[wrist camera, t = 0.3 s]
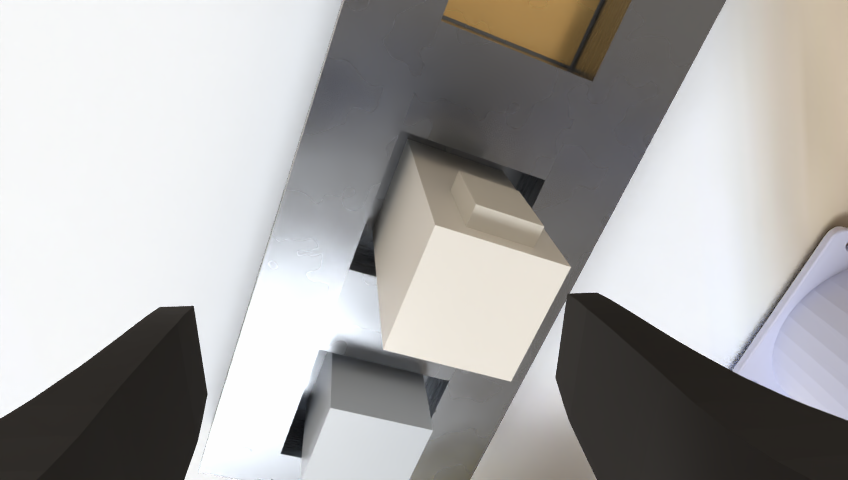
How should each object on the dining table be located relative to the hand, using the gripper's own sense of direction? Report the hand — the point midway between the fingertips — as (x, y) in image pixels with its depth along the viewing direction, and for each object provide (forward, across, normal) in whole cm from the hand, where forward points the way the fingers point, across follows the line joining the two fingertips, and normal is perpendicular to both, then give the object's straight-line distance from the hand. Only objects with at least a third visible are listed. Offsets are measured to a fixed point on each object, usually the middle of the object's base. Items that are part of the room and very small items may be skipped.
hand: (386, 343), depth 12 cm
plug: (+10, -2, +1) cm, 10 cm away
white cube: (+10, 0, +8) cm, 13 cm away
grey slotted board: (+10, -2, +1) cm, 10 cm away
